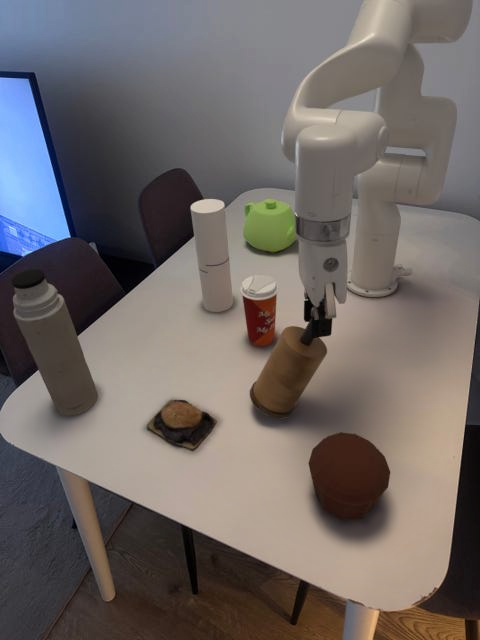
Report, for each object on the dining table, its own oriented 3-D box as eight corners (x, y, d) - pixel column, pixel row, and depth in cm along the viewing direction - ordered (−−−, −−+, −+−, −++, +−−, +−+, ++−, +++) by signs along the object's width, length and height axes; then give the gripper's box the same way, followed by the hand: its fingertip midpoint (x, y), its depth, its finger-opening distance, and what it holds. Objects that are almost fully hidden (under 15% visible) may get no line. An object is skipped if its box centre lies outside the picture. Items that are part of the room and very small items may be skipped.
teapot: (321, 244, 131) (323, 200, 124) (290, 266, 123) (290, 221, 115) (261, 225, 144) (259, 184, 136) (229, 244, 135) (225, 201, 127)
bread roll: (144, 430, 82) (139, 416, 79) (173, 399, 87) (170, 385, 85) (191, 454, 77) (188, 440, 75) (220, 420, 82) (218, 406, 80)
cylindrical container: (229, 313, 108) (220, 213, 93) (200, 311, 109) (186, 212, 94) (235, 295, 113) (227, 199, 98) (207, 294, 115) (195, 198, 100)
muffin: (302, 463, 74) (303, 422, 68) (370, 457, 74) (377, 415, 68) (316, 535, 65) (319, 494, 59) (394, 527, 65) (405, 487, 59)
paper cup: (268, 353, 96) (266, 298, 87) (237, 342, 99) (232, 288, 91) (285, 332, 101) (285, 278, 92) (255, 322, 104) (252, 269, 96)
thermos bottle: (51, 418, 85) (-8, 292, 68) (60, 387, 92) (8, 265, 75) (94, 413, 86) (46, 287, 69) (100, 382, 92) (58, 260, 75)
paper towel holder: (287, 387, 88) (341, 295, 76) (298, 421, 81) (359, 326, 69) (246, 379, 85) (295, 283, 74) (253, 414, 78) (309, 314, 67)
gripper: (370, 247, 57) (357, 358, 68) (330, 196, 70) (324, 296, 81) (311, 255, 56) (307, 365, 67) (282, 202, 69) (283, 302, 80)
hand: (317, 326), depth 74 cm, fingers closed on paper towel holder, 3 cm apart
